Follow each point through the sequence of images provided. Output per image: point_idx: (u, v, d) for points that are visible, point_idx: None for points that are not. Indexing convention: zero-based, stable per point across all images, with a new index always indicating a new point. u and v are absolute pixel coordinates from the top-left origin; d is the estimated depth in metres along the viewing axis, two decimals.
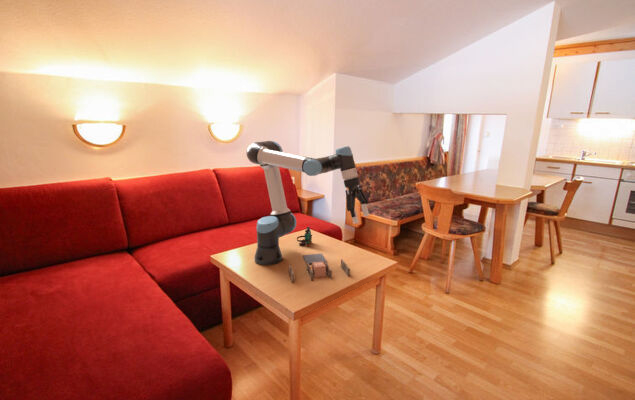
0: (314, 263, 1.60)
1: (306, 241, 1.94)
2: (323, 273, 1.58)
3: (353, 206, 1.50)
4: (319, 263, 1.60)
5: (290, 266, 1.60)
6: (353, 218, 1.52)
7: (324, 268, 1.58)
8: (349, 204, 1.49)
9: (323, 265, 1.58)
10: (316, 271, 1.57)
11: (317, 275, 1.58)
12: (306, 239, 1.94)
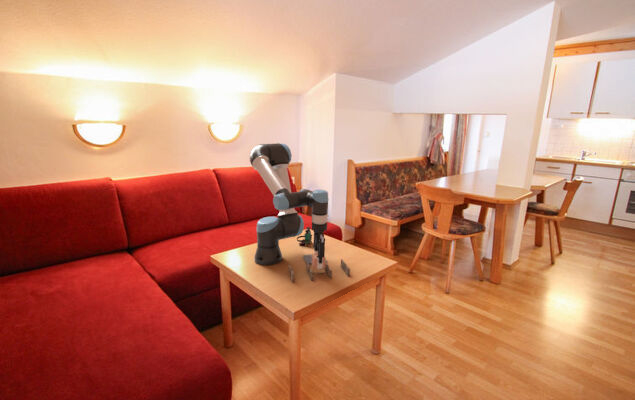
0: (314, 255, 1.60)
1: (306, 241, 1.94)
2: None
3: None
4: None
5: (290, 266, 1.60)
6: (318, 264, 1.56)
7: (324, 260, 1.57)
8: (322, 253, 1.52)
9: (323, 257, 1.58)
10: (316, 263, 1.56)
11: (316, 267, 1.57)
12: (306, 239, 1.94)
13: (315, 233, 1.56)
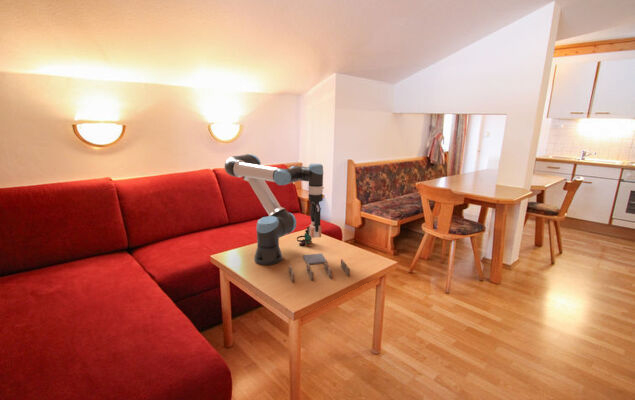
0: (311, 225, 1.73)
1: (306, 241, 1.94)
2: (319, 234, 1.71)
3: None
4: None
5: (290, 266, 1.60)
6: (315, 232, 1.69)
7: (320, 229, 1.70)
8: (318, 221, 1.65)
9: (319, 226, 1.71)
10: (312, 232, 1.70)
11: (313, 236, 1.70)
12: (306, 239, 1.94)
13: (312, 204, 1.70)
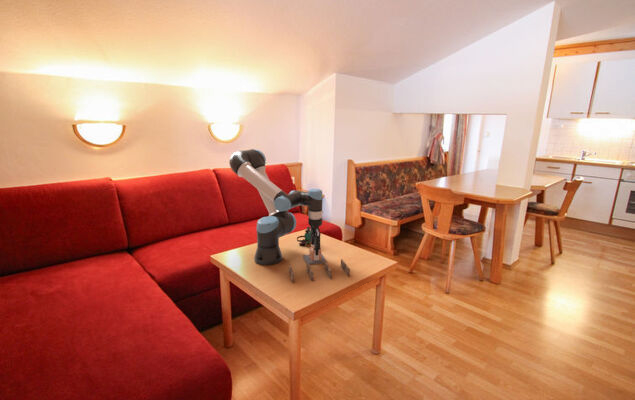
0: (311, 248, 1.76)
1: (306, 241, 1.94)
2: (319, 256, 1.74)
3: None
4: None
5: (290, 266, 1.60)
6: (315, 256, 1.73)
7: (320, 252, 1.74)
8: (318, 245, 1.69)
9: None
10: (313, 255, 1.73)
11: (313, 258, 1.74)
12: (306, 239, 1.94)
13: (311, 228, 1.73)
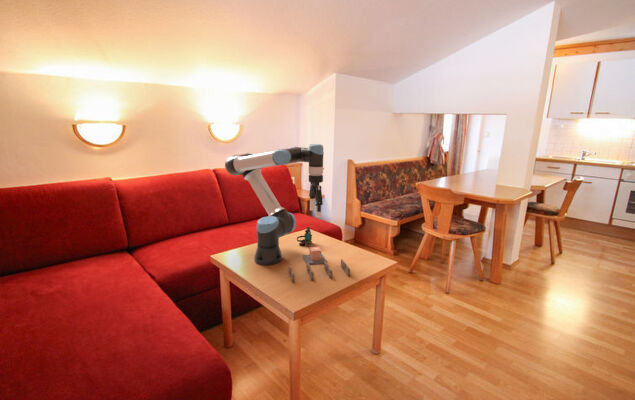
0: (311, 248, 1.76)
1: (306, 241, 1.94)
2: (319, 256, 1.74)
3: None
4: (315, 248, 1.76)
5: (290, 266, 1.60)
6: (317, 212, 1.63)
7: (320, 252, 1.74)
8: (320, 199, 1.60)
9: (319, 249, 1.74)
10: (313, 255, 1.73)
11: (313, 258, 1.74)
12: (306, 239, 1.94)
13: (312, 186, 1.68)
